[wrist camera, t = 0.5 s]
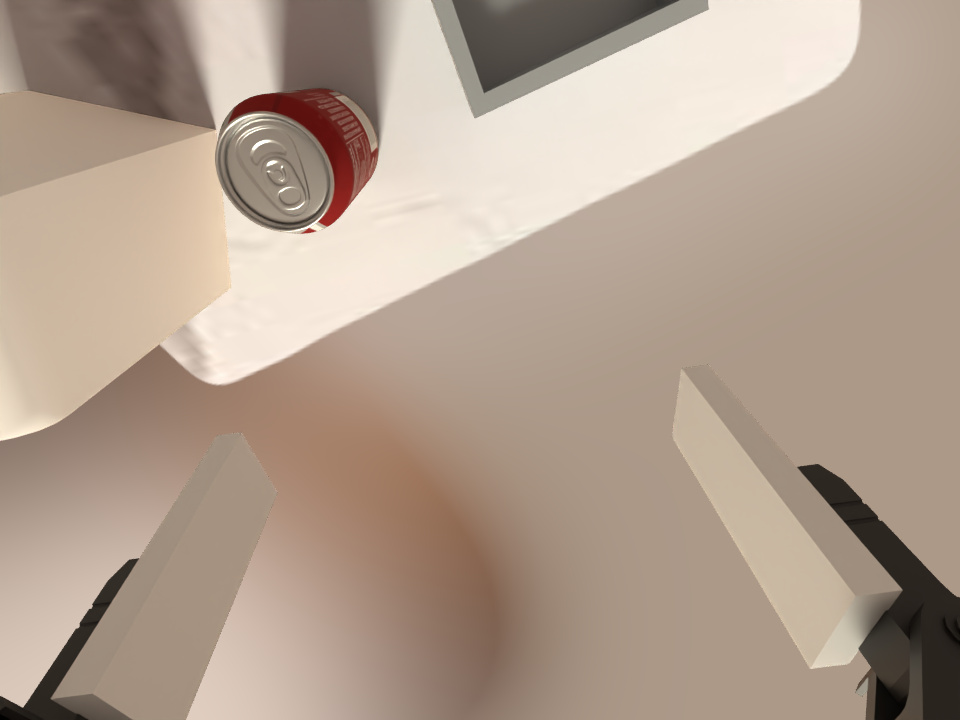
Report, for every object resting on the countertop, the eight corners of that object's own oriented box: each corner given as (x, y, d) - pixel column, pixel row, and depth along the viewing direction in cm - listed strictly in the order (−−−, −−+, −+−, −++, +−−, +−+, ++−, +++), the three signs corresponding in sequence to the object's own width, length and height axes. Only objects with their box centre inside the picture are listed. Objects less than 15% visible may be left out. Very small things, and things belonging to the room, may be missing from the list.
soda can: (354, 72, 29) (302, 72, 19) (394, 176, 33) (369, 221, 23) (263, 107, 30) (168, 124, 20) (312, 204, 34) (252, 260, 24)
